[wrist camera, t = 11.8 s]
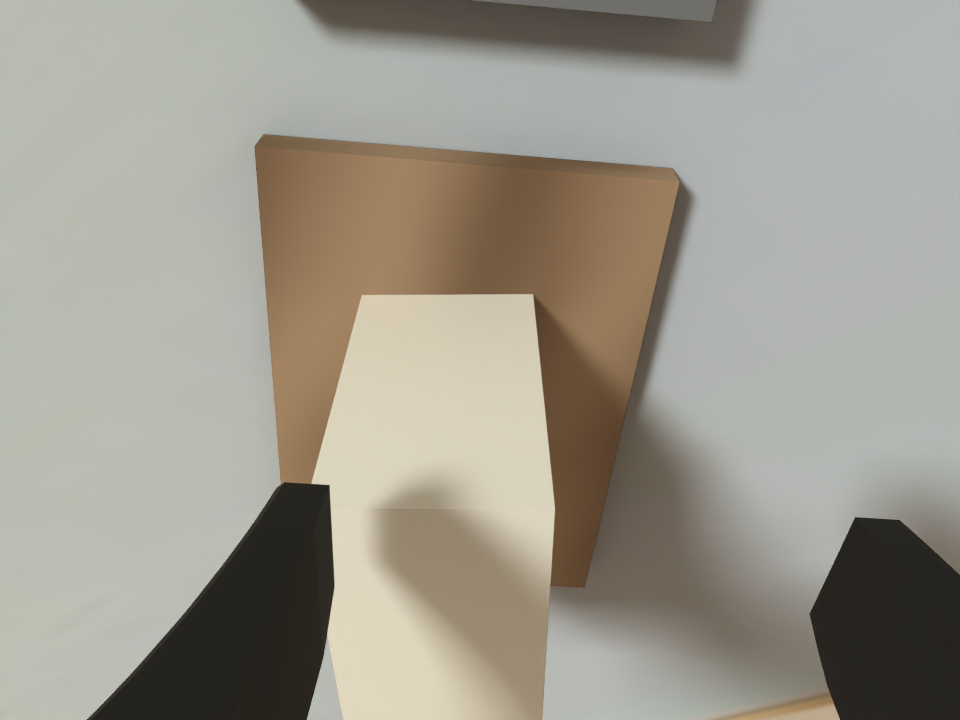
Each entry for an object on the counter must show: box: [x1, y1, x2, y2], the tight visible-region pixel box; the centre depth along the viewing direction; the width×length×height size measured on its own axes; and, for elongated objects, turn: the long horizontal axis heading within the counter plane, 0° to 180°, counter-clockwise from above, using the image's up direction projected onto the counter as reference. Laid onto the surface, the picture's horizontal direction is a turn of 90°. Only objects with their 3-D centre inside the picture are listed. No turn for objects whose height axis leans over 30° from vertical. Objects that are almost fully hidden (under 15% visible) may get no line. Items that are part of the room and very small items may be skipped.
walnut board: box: [255, 134, 680, 588], centre depth 21 cm, size 9×13×1 cm
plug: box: [311, 294, 555, 720], centre depth 17 cm, size 4×6×7 cm, turn 0°
